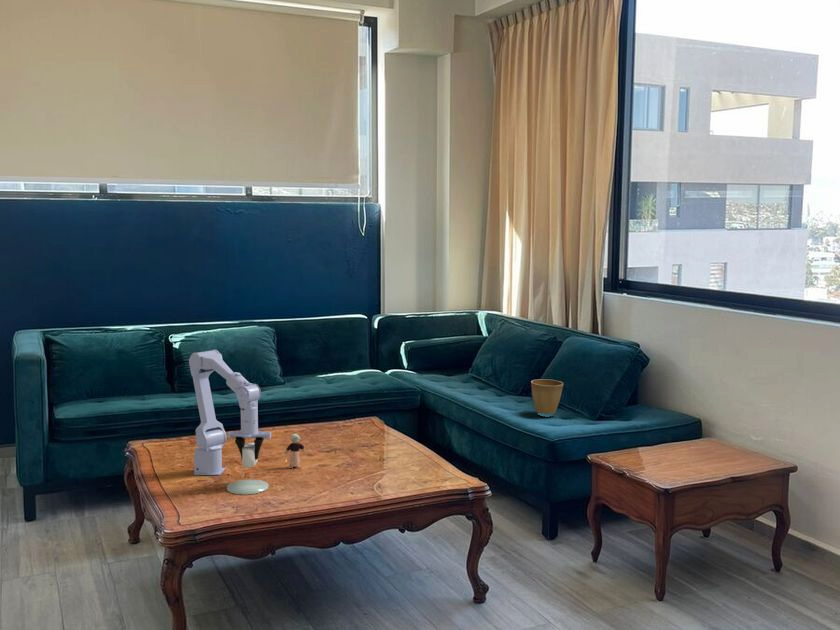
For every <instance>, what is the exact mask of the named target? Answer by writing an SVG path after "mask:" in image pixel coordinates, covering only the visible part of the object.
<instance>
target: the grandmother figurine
mask: <svg viewBox="0 0 840 630" xmlns="http://www.w3.org/2000/svg"><path fill="white" fill-rule="evenodd" d="M300 439H301V437H300V435H298V434H297V433H292V434H291V436H290V440H291V442H292V443H291V442H290V444H289V445H288V446H287V447H286V449H285V452H284V455H288V453H289V459H288V462H289V466H288V469H289V468H292V469H294V468H295V467H300V468H301V465H300V461H301V460H300V458H301V456H300V450H301V451H302V453H306V449H305V446H304V445H303V444H302V443H300V442H299V441H300ZM289 451H290V452H289ZM293 467H294V468H293Z"/></svg>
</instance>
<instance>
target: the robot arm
mask: <svg viewBox="0 0 840 630" xmlns="http://www.w3.org/2000/svg"><path fill="white" fill-rule="evenodd" d="M188 363H189V364H188V365H189V369H190V373H191V377H192V381H193V386H194V391H195V397H196V402H197V408H198V413H199V417H200V418H199V419H200V423H199V425H198V426H196V429H195V444H196V446H197V447H196V448H195V450H194V453H193V455H194V456H193V467H194V468H193V469H194V471H193V472H194V473H193V475H197V476H200V475H201V476H221V474H223V472H224V471H225V470H226V467H225V466H223V458H222V455H223V453H222V452H223V451H222V448H223V447H224V445H225V443H226V442H227V438H228V439H235V440H234V443H235V445H236V446H237V448H238V451H239V453H240V457H241V459H242V448H243V447H244V446H245V445H246V444H245V443H246V439H254V441H253V443H254V444H255V459H256V460H257V459H259V454H260V450H261V447H262V445H263V442H264V440H265V439H267V440H270V439H271V438H272V432H271V431H261V430H259V416H258V415H259V413H258V412H259V410H258V408H259V407H258V406H259V405H258V403H259V402H258V401H260V399H261V397H262V391H261V388H260V386H259V384H257V383H251V382H250V381H248V380H247V379H246V378H245V377H244V376H243V375H242V374H241V372H238V371H237V372H236V371H235V372H234V371H233V370H232V369H231V367H229V366H228V364H227V363H226V362H225V361H224V360H223V354H222V353H221V352H219V351H218V350H217V349H212V350H205V351H200V352H199V351H198V352H193V353H191V355H190V357H189V359H188ZM214 371H215V372H216V373H217V374H218V375H220V376H221V377H222V378H223V379H225V380H226V382H225V383H226V385H227V387H229V388H230V390H232V391H233V392H234V393H235V394H236V399H237V401H238V406H239V408H240V430H235V431H228V432H227V433H226V431H225V428H224V425H223V423H221V422H220V421H218V420H217V418H216V412H215V407H214V406H215V405H214V401H213V397H212V390H211V387H210V385H211V384H210V380H209V377H210V375H211V374H212V373H213V372H214Z"/></svg>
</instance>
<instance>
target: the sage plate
mask: <svg viewBox="0 0 840 630" xmlns="http://www.w3.org/2000/svg"><path fill="white" fill-rule="evenodd" d="M269 488H270V484H269V483H268V482H266V481H265V480H261V479H241V480H236V481H233V482H231V483H229V484H228V485H227V486H226V491H227V493H230V494H233V493H234V495H239V494H242V495H241V496H247V495H249V494H251V495H256V493H257V494H261V493H263V491H264V492H266V491H267V490H268V489H269ZM265 490H266V491H265ZM260 492H261V493H260Z"/></svg>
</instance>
